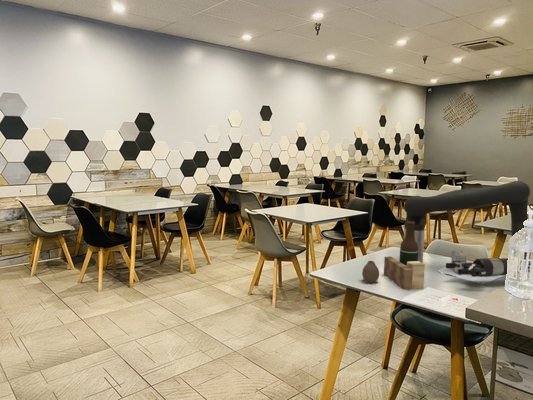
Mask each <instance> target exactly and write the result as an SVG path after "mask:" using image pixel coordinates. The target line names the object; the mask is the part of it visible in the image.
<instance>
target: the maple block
mask: <svg viewBox="0 0 533 400" xmlns="http://www.w3.org/2000/svg"><path fill="white" fill-rule="evenodd" d="M407 267H409V268H411V269H412V270H413V275H412V289H411V290H420V289H421V290H422V289H424V287H425V286H424V283H425V268H426V266H425V263H421V262H419V261H411V262H407Z"/></svg>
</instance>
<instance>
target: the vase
mask: <svg viewBox="0 0 533 400" xmlns="http://www.w3.org/2000/svg"><path fill="white" fill-rule="evenodd" d="M361 271H362V272H361V274H362V279H363V280H364V281H365V282H366V283H369V284H374V283H376V282H377V281H378V280H379V275H380V270H379V268H378V266H377V265H376V263H375V261H374V260H368V261H367V263H366V264H365V265H364V267H363V269H362V270H361Z"/></svg>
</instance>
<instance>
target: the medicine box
mask: <svg viewBox="0 0 533 400" xmlns="http://www.w3.org/2000/svg"><path fill="white" fill-rule="evenodd" d="M451 251H452V252H451V262H450V263H453V261H467V255H466V254H465V253H464V252H463V251H462V250H461V251H460V250H451ZM457 265H458V264H457ZM462 268H463V267H462ZM450 269H451V270H452V271H453V272H454V273H455V274H458V269H457V268H450Z"/></svg>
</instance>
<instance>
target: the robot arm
mask: <svg viewBox="0 0 533 400" xmlns="http://www.w3.org/2000/svg"><path fill="white" fill-rule="evenodd" d="M530 195H531V187H530V186H529V185H528V184H527V183H526V182H525V181H522V180H521V181H520V180H514V181H511V182H506V183H503V184H499V185H498V184H497V185H494V186H487V187H485V186H484V187H483V186H482V187H470V188H462V189H456V190H451V191H447V192H444V193H441V194H436V195H432V196H421V195H413V196H411V197H409V198H407V200H405V201H404V204H403V210H404V212H405V213H406V216H405V217H406V218H405V222H404V226H403V227H404V230H403V240H404V239H405V235H406V227H407V224H406V222H407V221H413V222H415V225H414V237H415V241H416V242H417V244H418V261H419V262H421V263H423V262H424V245H425V243H424V242H425V226H426V223H427V214H430V213H436V212H437V213H438V212H452V211H453V212H454V211H463V210H472V209H476V208H480V207H484V206H488V205H492V204H502V203H508V207H509V211H510V218H511V219H510V220H511V221H510V222H511V223H510V227H511V229H510V231H511V233H510V234H511V237H512V236H513V235H514V234H515V233H516V232H518V231H519V230H521V229H522V228H524V225H523V222H524V221H525V220H527V219H528V220H529V214H527V212H528V205H529V204H528V203H529V197H530ZM508 258H509V257H508ZM508 258H507V257H505V258H504V257H503V258H502V257H501V258H494V257H493V258H492V257H491V258H489V257H488V258H476V259H474V260H473V262H471V261H468V262H467V260H466V261H453V263H451V262H446V263H445V269H451V268H457V269H458V273H457V274H458V275H459V276H460V275H461V276H463V275H465V276H466V275H467V276H471V277H475V278H476V277H478V278H485V277H487V278H488V277H498V276H507V275H506V274H507V260H508ZM423 264H424V263H423ZM457 264H458V265H457ZM462 267H463V268H462Z"/></svg>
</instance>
